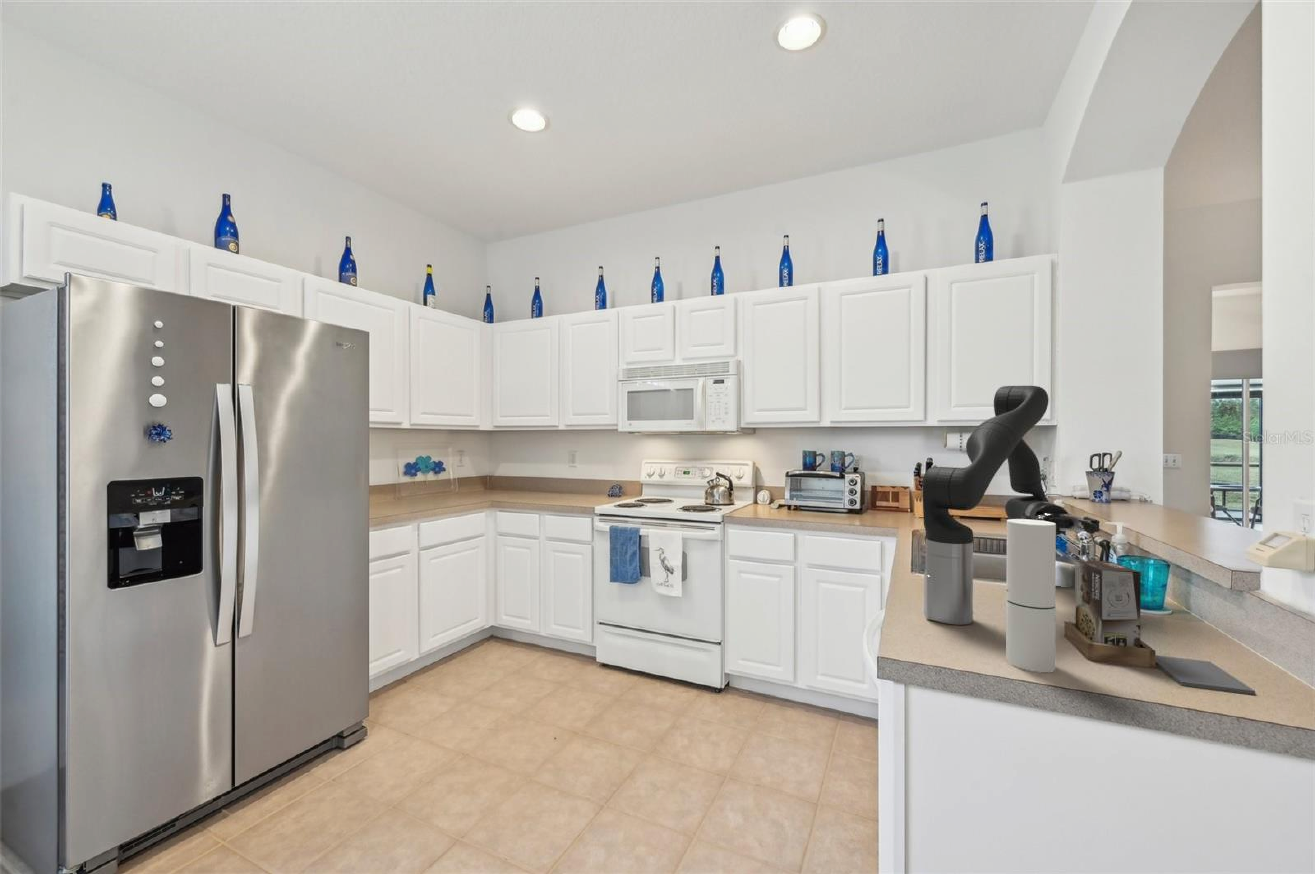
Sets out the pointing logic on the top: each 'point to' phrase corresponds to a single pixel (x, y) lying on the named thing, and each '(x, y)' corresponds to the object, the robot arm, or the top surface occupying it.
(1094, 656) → the walnut sleeve
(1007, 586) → the cylindrical container
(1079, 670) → the top surface
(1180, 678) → the rubber mat
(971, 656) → the top surface
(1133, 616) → the coffee box
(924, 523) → the robot arm
